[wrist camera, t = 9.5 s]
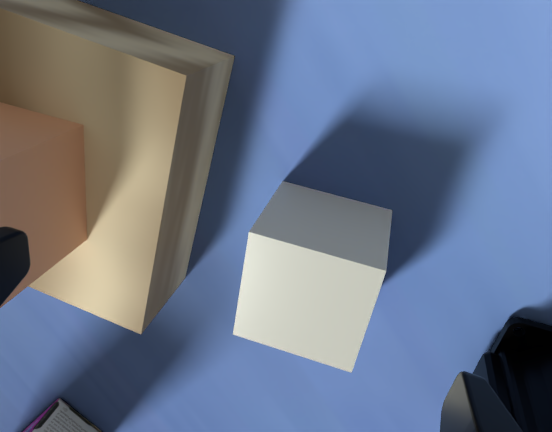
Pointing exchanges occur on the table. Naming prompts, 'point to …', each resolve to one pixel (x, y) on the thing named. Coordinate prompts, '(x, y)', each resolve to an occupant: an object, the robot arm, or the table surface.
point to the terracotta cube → (42, 186)
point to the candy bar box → (61, 420)
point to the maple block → (120, 144)
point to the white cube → (313, 274)
